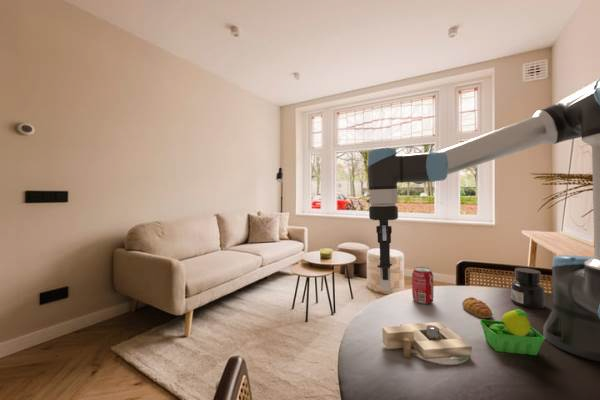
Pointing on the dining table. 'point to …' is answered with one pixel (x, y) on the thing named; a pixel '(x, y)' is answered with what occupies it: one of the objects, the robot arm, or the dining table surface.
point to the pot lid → (447, 360)
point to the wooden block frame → (426, 340)
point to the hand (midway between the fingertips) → (385, 290)
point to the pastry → (477, 308)
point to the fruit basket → (512, 334)
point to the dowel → (407, 347)
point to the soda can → (422, 285)
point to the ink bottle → (527, 289)
